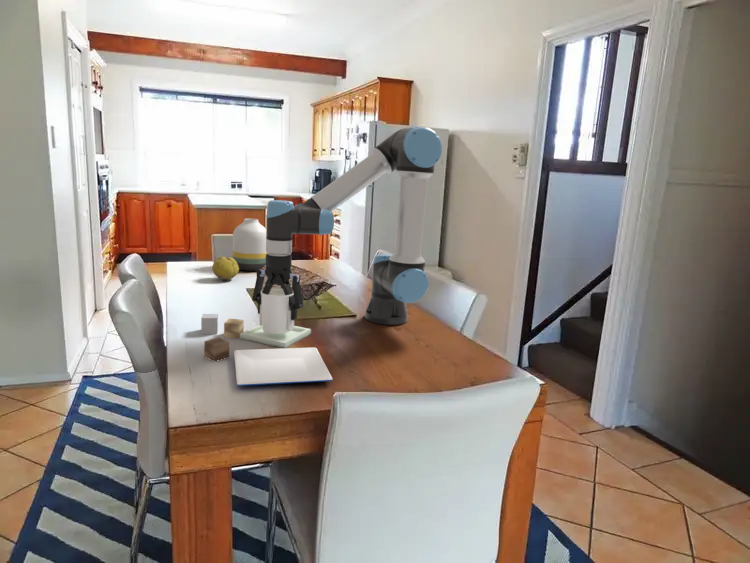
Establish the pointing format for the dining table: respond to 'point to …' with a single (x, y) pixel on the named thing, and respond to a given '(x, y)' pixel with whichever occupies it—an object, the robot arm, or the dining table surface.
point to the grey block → (209, 324)
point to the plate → (279, 366)
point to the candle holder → (275, 311)
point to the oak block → (233, 328)
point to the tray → (275, 336)
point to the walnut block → (216, 349)
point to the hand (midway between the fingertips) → (276, 327)
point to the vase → (249, 245)
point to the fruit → (225, 268)
